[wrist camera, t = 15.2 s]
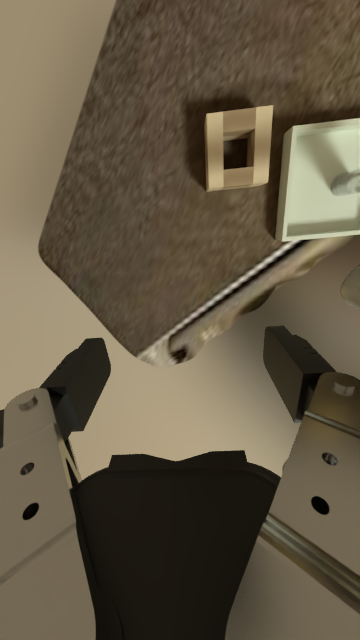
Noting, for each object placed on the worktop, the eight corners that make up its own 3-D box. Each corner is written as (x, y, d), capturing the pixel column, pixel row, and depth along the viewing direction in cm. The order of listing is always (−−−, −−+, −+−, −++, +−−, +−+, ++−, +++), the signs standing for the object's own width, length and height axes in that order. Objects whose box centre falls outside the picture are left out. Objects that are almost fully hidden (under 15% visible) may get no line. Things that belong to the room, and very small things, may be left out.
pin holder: (204, 125, 31) (206, 113, 27) (262, 118, 31) (273, 105, 27) (206, 191, 34) (208, 188, 31) (259, 185, 34) (268, 182, 30)
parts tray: (283, 133, 31) (293, 126, 28) (389, 121, 30) (409, 112, 28) (274, 239, 37) (281, 241, 34) (363, 231, 36) (377, 232, 34)
